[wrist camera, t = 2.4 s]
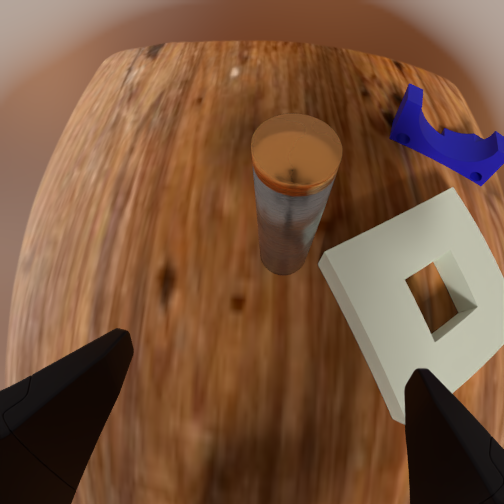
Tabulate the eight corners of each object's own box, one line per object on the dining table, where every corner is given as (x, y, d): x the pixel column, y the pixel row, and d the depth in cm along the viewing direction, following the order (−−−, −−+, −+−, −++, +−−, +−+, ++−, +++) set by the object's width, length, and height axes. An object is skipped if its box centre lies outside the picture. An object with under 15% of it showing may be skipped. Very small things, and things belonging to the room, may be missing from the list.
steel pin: (272, 282, 23) (276, 197, 10) (252, 242, 24) (236, 129, 11) (314, 263, 23) (359, 164, 11) (293, 224, 24) (312, 105, 12)
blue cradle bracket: (479, 158, 26) (503, 128, 20) (480, 186, 25) (508, 157, 19) (394, 114, 28) (409, 76, 22) (388, 139, 27) (407, 99, 21)
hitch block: (392, 418, 18) (408, 426, 16) (317, 264, 23) (324, 251, 20) (501, 328, 20) (521, 323, 17) (438, 202, 24) (453, 187, 21)
